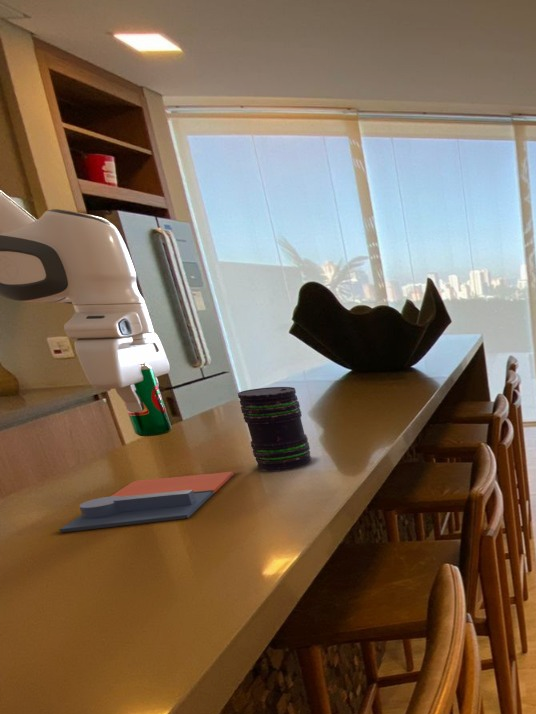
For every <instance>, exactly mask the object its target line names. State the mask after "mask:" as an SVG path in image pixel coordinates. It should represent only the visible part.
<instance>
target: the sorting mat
mask: <svg viewBox="0 0 536 714" xmlns="http://www.w3.org/2000/svg"><path fill="white" fill-rule="evenodd" d="M233 476H235V471H225V472H215V473H205V474H193V475H183V476H173V477H162V478H150V479H141V480H133V481H131V482H130V483H129V484H127V485H125V486H124V487H123V488H121V489H120V490H118V491H116V492H115V493H113V494H112V495H111V496H120V497H125V496H135V495H144V494H154V493H164V492H174V491H184V490H193V493H194V496H195V499H196V501H195V502H194V503H193V504H192V505H184V506H175V507H166V508H157V509H147V510H138V511H129V512H120V513H117V514H114V515H111V516H106V517H100V518H84V517H83V515H82V514H81V515H79V516H78V517H76V518H75V519H73V520H71V521H70V522H69V523H67V524H65V525H64V526H61V528H59V531H60V533H61V534H63V533H70V532H71V533H72V532H79V531H87V530H97V529H106V528H115V527H123V526H132V525H140V524H142V525H143V524H148V523H158V522H167V521H176V520H184V519H189V518H190V517H191V516H192V515H194V514H195V512H196V511H198V510H199V509H200V508H201V506H203V505H204V504H205V503H206V502H207V501H208V500H209V499H210V498H211V497H212V496H213V495H214V494H216V492H218V491H219V490H220V489H221V488H222V487H223V486H224V485H225V484H226V483H227V482H228V481H229V480H230V479H231V478H233Z"/></svg>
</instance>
